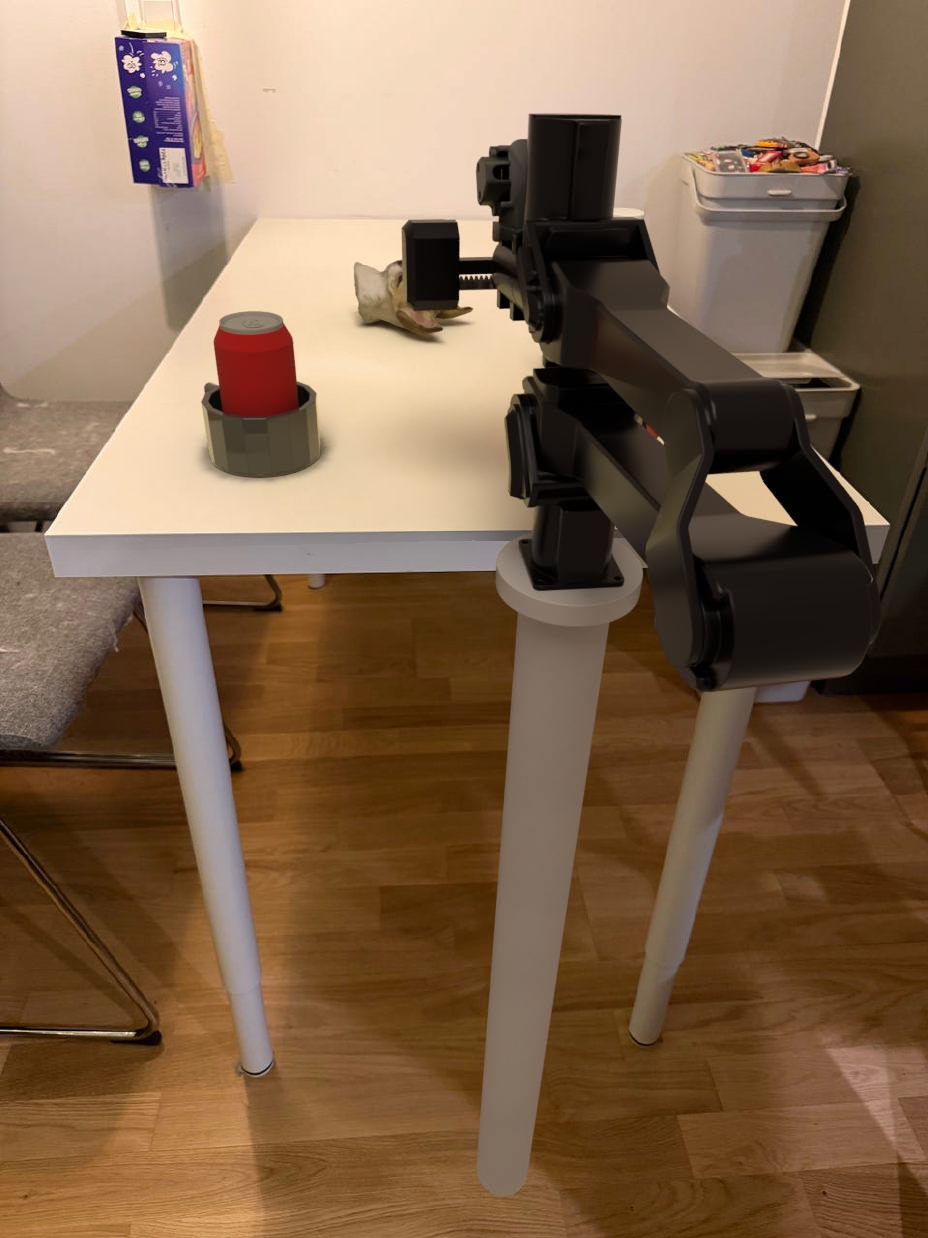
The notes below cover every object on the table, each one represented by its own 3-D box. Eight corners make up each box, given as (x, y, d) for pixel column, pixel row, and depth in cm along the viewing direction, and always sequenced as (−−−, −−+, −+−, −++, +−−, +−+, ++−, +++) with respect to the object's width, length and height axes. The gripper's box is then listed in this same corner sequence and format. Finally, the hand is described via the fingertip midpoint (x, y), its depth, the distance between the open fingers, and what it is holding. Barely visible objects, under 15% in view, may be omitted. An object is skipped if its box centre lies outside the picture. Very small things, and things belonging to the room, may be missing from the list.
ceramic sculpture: (374, 240, 116) (478, 261, 112) (373, 306, 121) (473, 329, 117) (333, 258, 108) (443, 281, 104) (333, 328, 113) (438, 353, 109)
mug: (342, 452, 83) (339, 396, 79) (258, 488, 76) (251, 428, 73) (253, 416, 89) (247, 362, 86) (169, 445, 83) (159, 389, 80)
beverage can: (290, 431, 86) (278, 305, 79) (312, 458, 81) (301, 326, 74) (220, 442, 83) (202, 313, 76) (238, 471, 78) (221, 335, 71)
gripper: (692, 150, 59) (613, 139, 72) (417, 150, 56) (386, 138, 69) (670, 321, 65) (600, 282, 78) (420, 330, 61) (391, 288, 74)
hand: (499, 246), depth 74 cm, fingers open, 9 cm apart
